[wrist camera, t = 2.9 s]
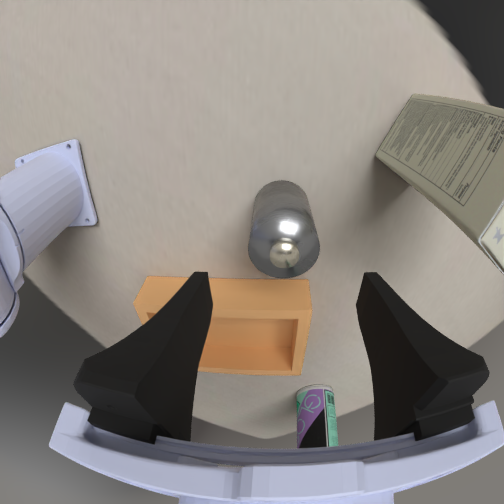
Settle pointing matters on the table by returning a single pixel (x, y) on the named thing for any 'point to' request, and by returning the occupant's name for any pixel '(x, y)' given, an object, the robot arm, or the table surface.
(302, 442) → the spray can
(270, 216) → the cell
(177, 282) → the trough
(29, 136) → the table surface
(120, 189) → the table surface
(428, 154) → the skincare box
